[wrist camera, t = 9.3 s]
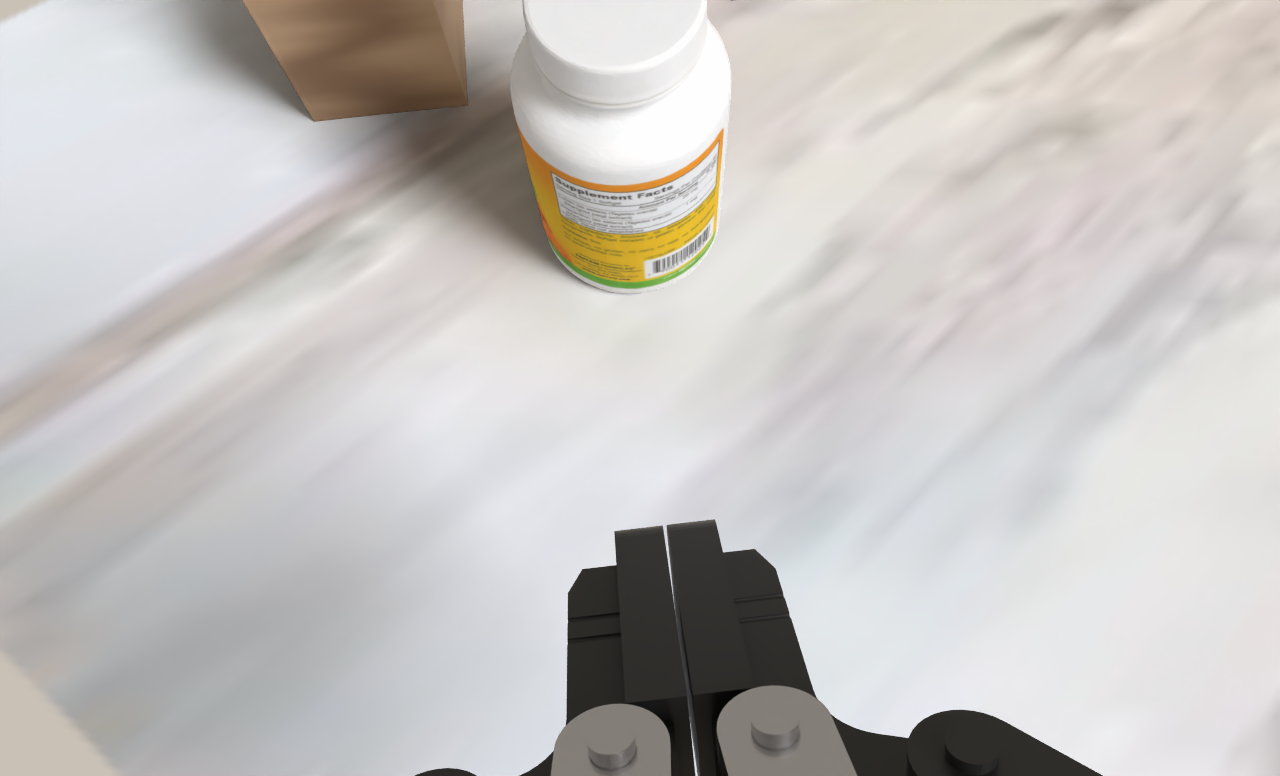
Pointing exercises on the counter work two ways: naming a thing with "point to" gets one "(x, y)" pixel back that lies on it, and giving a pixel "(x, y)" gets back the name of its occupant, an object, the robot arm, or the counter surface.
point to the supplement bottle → (624, 135)
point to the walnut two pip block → (367, 53)
